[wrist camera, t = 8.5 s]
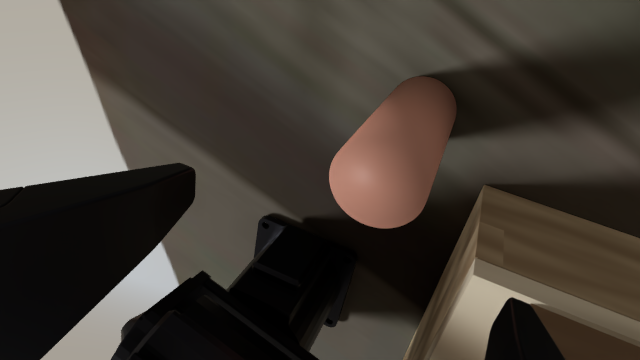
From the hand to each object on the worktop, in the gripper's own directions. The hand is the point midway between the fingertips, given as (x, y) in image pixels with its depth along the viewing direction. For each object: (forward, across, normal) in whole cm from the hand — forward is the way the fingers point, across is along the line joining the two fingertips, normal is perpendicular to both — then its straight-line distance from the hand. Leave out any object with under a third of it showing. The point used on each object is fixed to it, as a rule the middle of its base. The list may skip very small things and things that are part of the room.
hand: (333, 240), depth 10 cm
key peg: (+12, 0, 0) cm, 12 cm away
